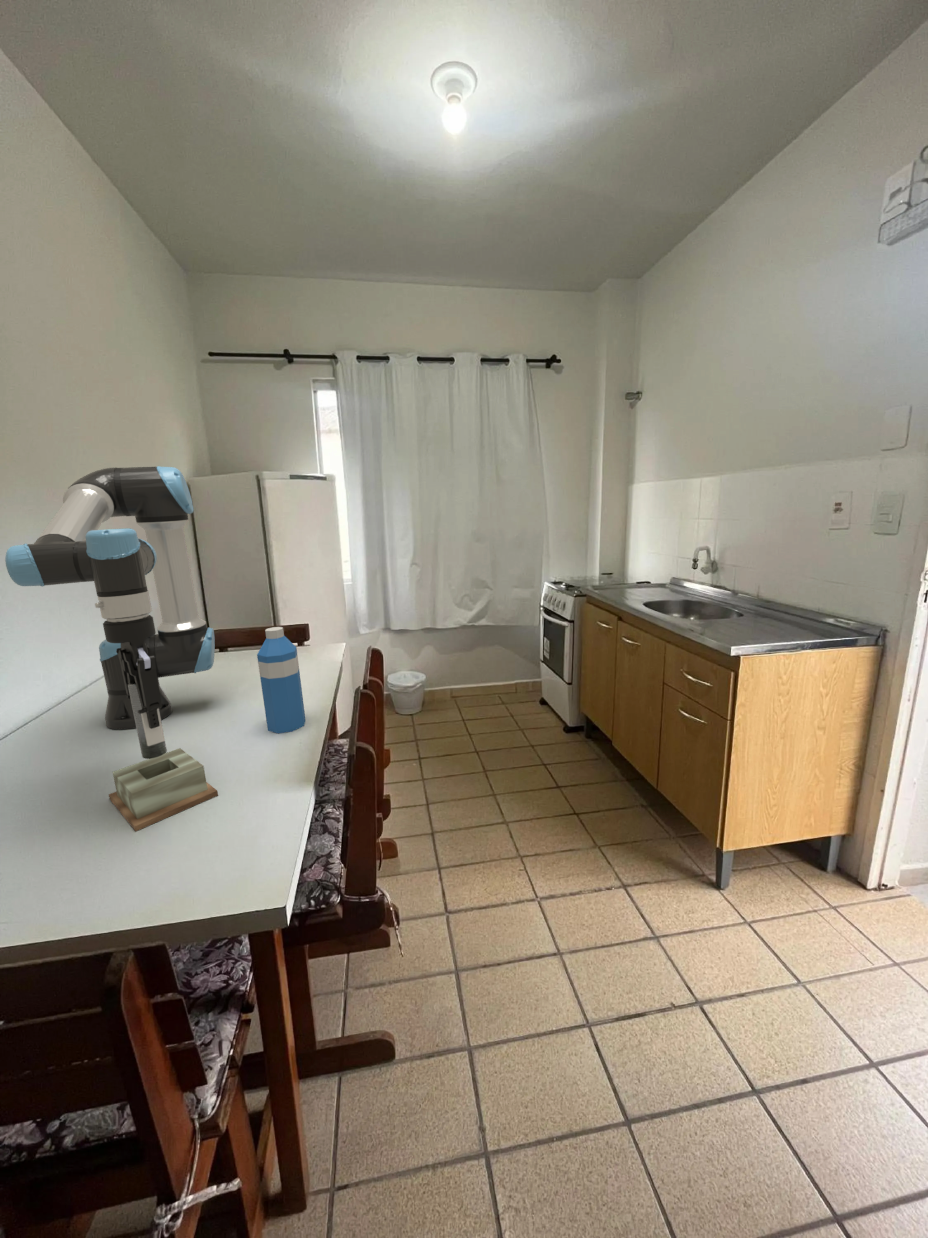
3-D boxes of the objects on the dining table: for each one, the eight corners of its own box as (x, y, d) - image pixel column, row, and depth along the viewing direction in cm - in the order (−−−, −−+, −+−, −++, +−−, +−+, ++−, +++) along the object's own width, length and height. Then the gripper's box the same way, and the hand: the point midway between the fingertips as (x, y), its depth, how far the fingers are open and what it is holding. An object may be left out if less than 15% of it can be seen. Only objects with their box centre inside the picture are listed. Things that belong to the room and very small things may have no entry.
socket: (109, 799, 99) (103, 770, 97) (186, 769, 109) (181, 743, 107) (135, 831, 88) (128, 800, 87) (218, 795, 98) (213, 766, 97)
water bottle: (294, 734, 123) (281, 634, 117) (259, 732, 125) (245, 633, 119) (313, 718, 132) (301, 624, 126) (280, 717, 134) (267, 624, 128)
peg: (139, 754, 96) (124, 684, 93) (162, 746, 99) (149, 677, 96) (146, 760, 93) (131, 688, 90) (170, 752, 96) (156, 681, 93)
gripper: (90, 616, 93) (115, 735, 98) (117, 627, 82) (144, 760, 87) (136, 608, 99) (158, 721, 104) (167, 618, 87) (190, 744, 92)
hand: (151, 739), depth 95 cm, fingers closed on peg, 4 cm apart
